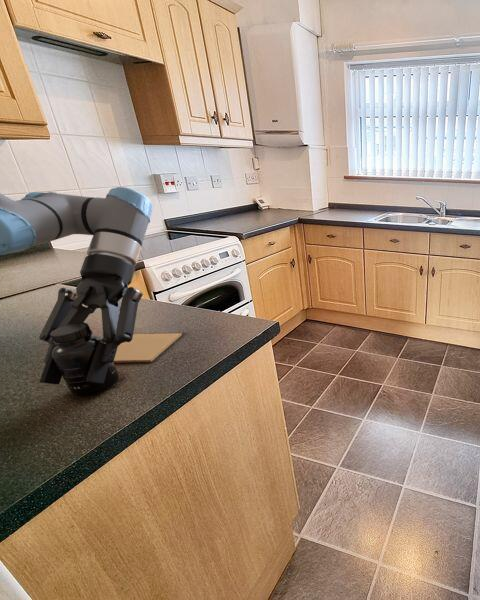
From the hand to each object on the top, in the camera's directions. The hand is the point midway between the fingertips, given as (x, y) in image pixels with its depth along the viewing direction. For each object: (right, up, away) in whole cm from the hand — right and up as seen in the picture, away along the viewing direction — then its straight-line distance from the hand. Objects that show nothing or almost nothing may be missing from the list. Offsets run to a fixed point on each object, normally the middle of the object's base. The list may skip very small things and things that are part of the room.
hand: (72, 382), depth 57 cm
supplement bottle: (0, -2, +5) cm, 5 cm away
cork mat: (-1, +3, +16) cm, 17 cm away
